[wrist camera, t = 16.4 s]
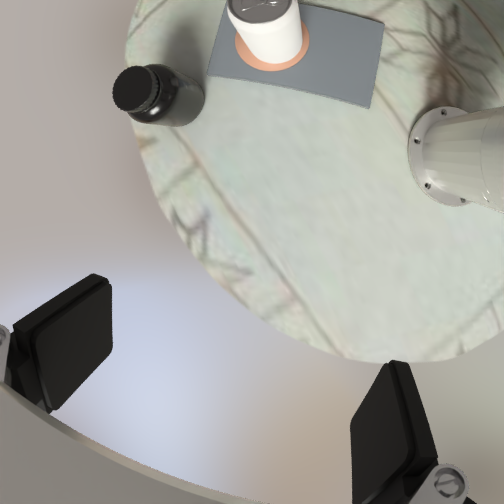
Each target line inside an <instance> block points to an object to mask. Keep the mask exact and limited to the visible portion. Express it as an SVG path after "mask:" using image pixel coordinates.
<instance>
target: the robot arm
mask: <svg viewBox="0 0 504 504" xmlns="http://www.w3.org/2000/svg"><path fill="white" fill-rule="evenodd" d="M441 112H442V113H443V115H442V114H441ZM414 139H416V140H417V142H416V143H415V142H414ZM408 158H409V164H410V168H411V171H412V174H413V176H414V179H415V180H416V182H417V184H418V185H419V187H420V188H421V189H422V190H423V191H424V193H425V194H426V195H428V196H429V197H430V198H432V199H433V200H435V201H437V202H439V203H441V204H444V205H446V206H453V207H457V206H464V205H467V204H470V203H472V202H475V203H477V204H480V205H483V206H485V207H488V208H491V209H493V210H496V211H498V212H501V213H503V214H504V106H503V107H498V108H492V109H487V110H483V111H478V112H473V113H468V112H466V111H464V110H462V109H459V108H457V107H451V106H444V107H438V108H434V109H432V110H430V111H428V112H426V113H425V114H424V115H423V116H421V117H420V118H419V120H418V121H417V122H416V124H415V125H414V127H413V130H412V132H411V135H410V139H409V144H408ZM425 183H427V186H426V187H425ZM461 198H462V200H461ZM13 329H14V332H12V333H11V334H10V332H9V330H8V329H7V328H6V327H5V326H3V325H0V504H268V503H263V502H259V501H254V500H249V499H246V498H242V497H238V496H233V495H230V494H226V493H223V492H219V491H216V490H212V489H209V488H206V487H203V486H199V485H196V484H193V483H190V482H187V481H184V480H182V479H179V478H176V477H173V476H171V475H168V474H165V473H163V472H160V471H158V470H155V469H153V468H151V467H148V466H146V465H143V464H141V463H139V462H137V461H134V460H132V459H130V458H128V457H126V456H123V455H121V454H119V453H117V452H115V451H113V450H111V449H109V448H107V447H105V446H103V445H101V444H99V443H97V442H95V441H94V440H92V439H90V438H88V437H86V436H84V435H83V434H81V433H79V432H77V431H76V430H74V429H72V428H71V427H69V426H67V425H66V424H64V423H62V422H61V421H59V420H57V419H56V418H54V417H53V416H51V415H49V414H50V413H51V412H52V411H53V410H58V409H59V408H60V407H61V406H62V405H63V404H64V403H65V402H66V400H67V399H68V398H69V397H70V396H71V395H72V394H73V393H74V392H75V391H76V389H78V387H79V386H80V385H81V384H82V383H83V382H84V381H85V380H86V379H87V378H88V377H89V376H90V375H91V374H92V373H93V371H94V370H95V369H96V368H97V367H98V366H99V365H100V364H101V363H102V362H103V361H104V360H105V359H106V358H107V357H108V356H109V354H110V353H111V351H112V348H113V340H112V339H113V337H112V286H111V284H109V281H108V279H107V278H105V277H102V276H99V275H97V274H90V275H89V276H87V277H85V278H84V279H82V280H81V281H79V282H77V283H76V284H74V285H73V286H71V287H69V288H68V289H66V290H65V291H63V292H61V293H60V294H59V295H57V296H55V297H54V298H52V299H51V300H49V301H48V302H46V303H44V304H43V305H42V306H40V307H38V308H37V309H35V310H34V311H32V312H31V313H29V314H28V315H26V316H25V317H23V318H22V319H21V320H19V321H17V322H16V323H15V324H13ZM350 432H351V457H352V504H477V503H475V502H474V501H472V500H471V499H470V498H468V497H467V494H468V490H469V482H468V479H467V477H466V475H465V474H464V472H463V471H462V470H461V469H459V468H458V467H456V466H454V465H452V464H447V463H446V464H440V465H439V464H438V461H437V458H438V455H437V451H436V448H435V444H434V440H433V437H432V434H431V430H430V427H429V423H428V420H427V417H426V414H425V410H424V407H423V404H422V401H421V398H420V395H419V392H418V389H417V386H416V383H415V380H414V377H413V375H412V372H411V369H410V366H409V364H408V363H406V362H401V361H396V360H391V361H390V362H389V363H385V364H384V365H383V366H382V368H381V370H380V372H379V374H378V375H377V377H376V379H375V381H374V383H373V384H372V386H371V388H370V390H369V391H368V393H367V395H366V396H365V398H364V400H363V401H362V403H361V405H360V407H359V408H358V410H357V411H356V413H355V415H354V416H353V418H352V420H351V424H350Z"/></svg>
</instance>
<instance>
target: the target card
mask: <svg viewBox="0 0 504 504" xmlns="http://www.w3.org/2000/svg"><path fill="white" fill-rule="evenodd" d="M227 6H228V5H227V1H226V5H225V8H224V11H223V15H222V18H221V22H220V25H219V29H218V32H217V36H216V39H215V43H214V47H213V51H212V55H211V58H210V62H209V66H208V70H207V75H208V76H214V77H223V78H230V79H238V80H244V81H251V82H257V83H263V84H268V85H274V86H279V87H284V88H289V89H294V90H298V91H303V92H307V93H312V94H316V95H320V96H324V97H328V98H332V99H336V100H339V101H343V102H346V103H350V104H353V105H357V106H360V107H364V108H367V109H369V108H370V104H371V99H372V94H373V89H374V84H375V79H376V73H377V68H378V62H379V57H380V51H381V45H382V38H383V32H384V25H385V24H382V23H379V22H375V21H372V20H369V19H365V18H362V17H358V16H354V15H351V14H347V13H343V12H339V11H334V10H330V9H325V8H320V7H315V6H310V5H305V4H299V3H298V6H299V12H300V20H301V28H302V38H303V42H302V46H301V49H300V51H299V52H298V54H297V55H296V56H295V57H294V58H292V59H291V60H289V61H287V62H284V63H278V64H272V63H266V62H263V61H261V60H259V59H258V58H257V57H255V56H254V55H253V53H252V52H251V51H250V49H249V48H248V46H247V45H246V43H245V42H244V40H243V39H242V37H241V36H240V34H239V33H238V31H237V30H236V28H235V27H234V25H233V23H232V22H231V20H230V18H229V16H228V11H227Z"/></svg>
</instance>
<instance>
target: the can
mask: <svg viewBox="0 0 504 504" xmlns="http://www.w3.org/2000/svg"><path fill="white" fill-rule="evenodd" d="M227 5H228V6H227V11H228V16H229V18H230V20H231V22H232V23H233V25H234V27H235V28H236V30H237V31H238V33H239V34H240V36H241V37H242V39H243V40H244V42H245V43H246V45H247V46H248V48H249V49H250V51H251V52H252V53H253V55H254V56H255V57H257V58H258V59H259V60H261V61H263V62H266V63H272V64H278V63H284V62H287V61H289V60H291V59H292V58H294V57H295V56H296V55H297V54H298V52H299V51H300V49H301V46H302V42H303V38H302V28H301V20H300V12H299V6H298V1H297V0H227Z"/></svg>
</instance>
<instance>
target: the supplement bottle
mask: <svg viewBox="0 0 504 504" xmlns="http://www.w3.org/2000/svg"><path fill="white" fill-rule="evenodd" d="M112 94H113V99H114V102H115V104H116V105H117V107H118V108H120V109H121V110H124V111H126V112H127V113H128V114H129V116H130V117H131V118H133V119H134V120H136V121H138V122H141V123H146V124H155V125H164V126H174V127H178V126H184V125H187V124H189V123H190V122H192V121H193V120H194V119H195V118H196V117H197V116H198V115H199V114H200V112H201V110H202V107H203V103H204V95H203V91H202V89H201V87H200V85H199V84H198V83H197V82H196V81H195V80H193V79H191V78H190V77H188V76H186V75H184V74H182V73H180V72H178V71H176V70H174V69H172V68H170V67H167V66H165V65H162V64H149V65H146V66H143V67H142V66H132V67H130V68H127V69H126V70H124V71H123V72H122V73H121V74H120V75H119V76H118V78H117V79H116V81H115V83H114V87H113V93H112Z"/></svg>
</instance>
